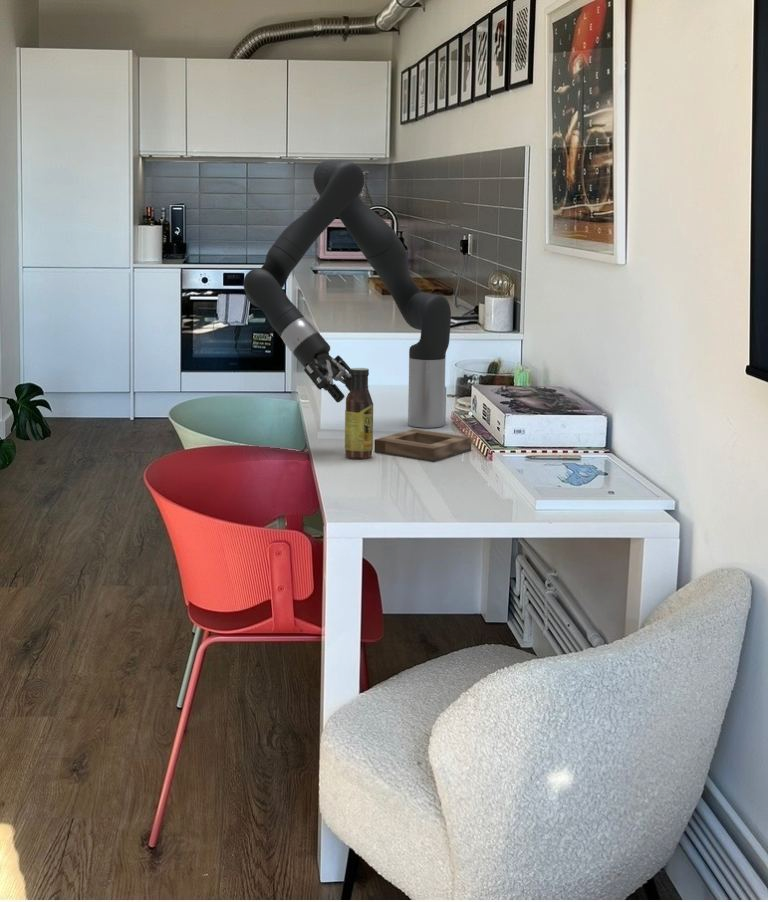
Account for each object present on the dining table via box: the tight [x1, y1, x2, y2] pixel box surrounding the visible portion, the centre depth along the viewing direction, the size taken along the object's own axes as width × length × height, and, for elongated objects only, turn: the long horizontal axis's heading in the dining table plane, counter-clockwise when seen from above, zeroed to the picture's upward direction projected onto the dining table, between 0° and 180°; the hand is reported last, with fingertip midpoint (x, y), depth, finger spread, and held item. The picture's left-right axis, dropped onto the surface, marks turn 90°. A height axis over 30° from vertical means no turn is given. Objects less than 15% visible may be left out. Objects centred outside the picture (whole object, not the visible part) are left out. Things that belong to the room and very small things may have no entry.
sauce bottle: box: [344, 367, 374, 460], centre depth 268 cm, size 6×6×20 cm
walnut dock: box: [373, 428, 473, 463], centre depth 277 cm, size 16×16×3 cm
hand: (350, 397), depth 268 cm, fingers open, 8 cm apart
